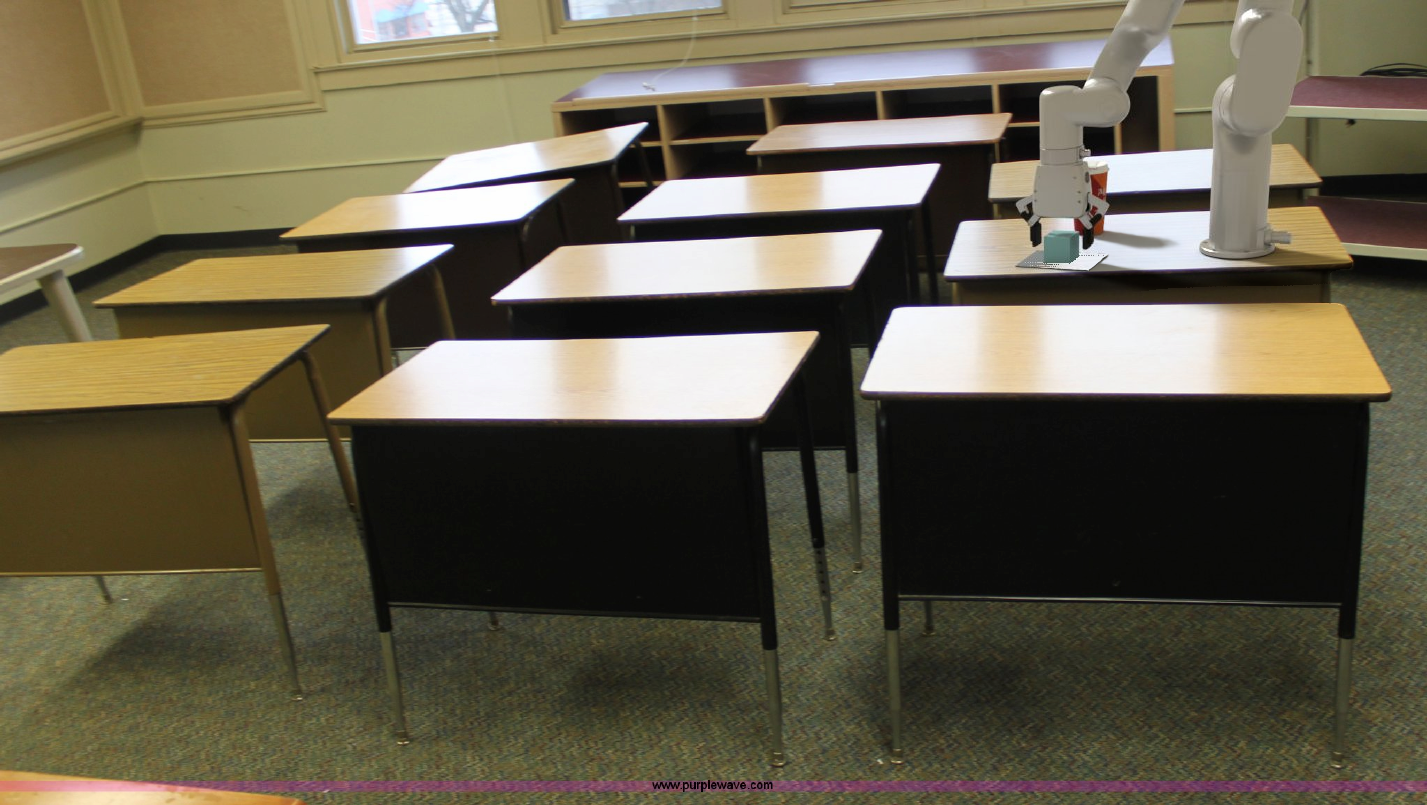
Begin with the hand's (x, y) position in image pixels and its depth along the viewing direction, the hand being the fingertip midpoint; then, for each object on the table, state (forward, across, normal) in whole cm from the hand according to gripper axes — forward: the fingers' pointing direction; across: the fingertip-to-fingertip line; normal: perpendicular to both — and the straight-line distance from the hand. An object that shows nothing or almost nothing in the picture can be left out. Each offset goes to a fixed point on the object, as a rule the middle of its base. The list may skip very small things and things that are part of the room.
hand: (1061, 246), depth 214 cm
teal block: (+3, 0, 0) cm, 3 cm away
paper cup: (+3, +2, -21) cm, 21 cm away
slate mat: (+3, 0, 0) cm, 3 cm away
